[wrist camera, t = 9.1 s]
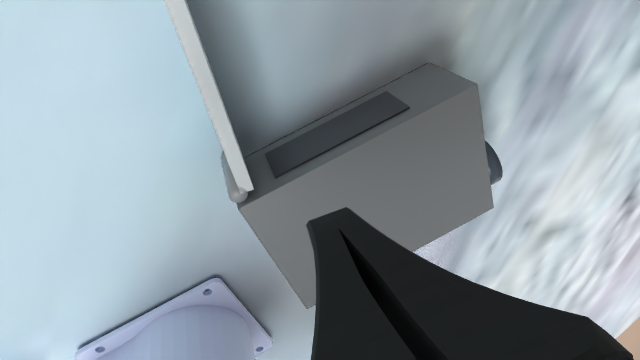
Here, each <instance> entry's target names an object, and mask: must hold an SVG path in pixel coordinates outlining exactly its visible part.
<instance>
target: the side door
mask: <svg viewBox="0 0 640 360" xmlns="http://www.w3.org/2000/svg"><path fill="white" fill-rule="evenodd" d="M164 2H165V5H166V7H167V10H168V12H169V15H170V17H171V20H172V22H173V25H174V27H175V30H176V32H177V35H178V37H179V40H180V42H181V45H182V48H183V50H184V53H185V55H186V58H187V60H188V63H189V65H190V68H191V70H192V73H193V75H194V78H195V80H196V83H197V85H198V88H199V90H200V93H201V95H202V98H203V100H204V103H205V106H206V108H207V111H208V113H209V116H210V118H211V121H212V123H213V126H214V128H215V131H216V133H217V136H218V138H219V141H220V143H221V146H222V148H223V151H224V153H223V154H222V156H221V162H222V167H223V171H224V176H225V181H226V185H227V190H228V194H229V198H230V200H231V201H233V202H235V203H239V202H242V201H244V200H245V199H246V198H247V196H248V191H251V190H254V188H253V185H252V182H251V179H250V176H249V173H248V170H247V167H246V164H245V160H244V157H243V154H242V152H241V149H240V146H239V143H238V141H237V138H236V135H235V132H234V130H233V127H232V124H231V121H230V119H229V116H228V113H227V111H226V108H225V105H224V102H223V100H222V97H221V94H220V91H219V89H218V86H217V83H216V81H215V78H214V75H213V72H212V70H211V67H210V64H209V61H208V59H207V56H206V53H205V50H204V48H203V45H202V42H201V40H200V37H199V34H198V31H197V29H196V26H195V23H194V20H193V18H192V15H191V12H190V9H189V7H188V4H187V1H186V0H164Z"/></svg>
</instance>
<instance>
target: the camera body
mask: <svg viewBox="0 0 640 360" xmlns="http://www.w3.org/2000/svg"><path fill="white" fill-rule="evenodd" d="M244 160H245V164H246V167H247V170H248V173H249V176H250V179H251V182H252V185H253V188H254V190H251V191H248V196H247V198H246V199H245V200H244V201H242V202H239V203H237V206H238V210H239V211H240V212H241V214H242V215H243V217H244V218H245V220H246V221H247V223H248V224H249V226H250V227H251V228H252V230H253V231H254V233H255V234H256V236H257V237H258V239H259V240H260V242H261V243H262V244H263V246H264V247H265V249H266V250H267V252H268V253H269V255H270V256H271V258H272V259H273V260H274V262H275V263H276V265H277V266H278V268H279V269H280V271H281V272H282V274H283V275H284V277H285V278H286V279H287V281H288V282H289V284H290V285H291V287H292V288H293V290H294V291H295V293H296V294H297V295H298V297H299V298H300V300H301V301H302V303H303V304H304V306H305V307H306V309H309V308H310V307H312V306H314V305H316V271H315V260H314V251H313V247H312V244H311V241H310V237H309V234H308V230H307V227H306V224H307V223H308V221H309V220H312V219H315V218H318V217H320V216H323V215H326V214H328V213H331V212H334V211H337V210H339V209H342V208H345V207H347V208H349V209H351V210H352V211H353V212H355V213H356V214H357V215H358V216H360V217H361V218H362V219H364V220H365V221H366V222H367V223H369V224H370V225H372V226H373V227H374V228H376V229H377V230H379V231H380V232H381V233H383V234H384V235H386V236H387V237H389V238H390V239H392V240H394V241H395V242H397V243H398V244H400V245H401V246H403V247H405V248H406V249H408V250H409V251H411V252H413V251H415V250H417V249H419V248H421V247H422V246H424V245H426V244H428V243H430V242H432V241H434V240H435V239H437V238H439V237H441V236H443V235H445V234H446V233H448V232H450V231H452V230H454V229H456V228H457V227H459V226H461V225H463V224H465V223H467V222H468V221H470V220H472V219H474V218H476V217H478V216H479V215H481V214H483V213H485V212H487V211H489V210H490V209H492V208H494V206H493V199H492V191H491V185H492V184H494V183H496V182H498V181H499V180H501V178H502V166H501V163H500V161H499V158H498V156H497V154H496V153H495V151H494V150H493V148H492V147H491V146H490V145H489V144H488V143H487V142H486V141H485V139H484V131H483V124H482V117H481V109H480V102H479V94H478V87H477V84H476V83H474V82H471V81H469V80H467V79H465V78H463V77H460V76H458V75H456V74H454V73H452V72H449V71H447V70H445V69H443V68H440V67H438V66H436V65H434V64H432V63H427V64H425V65H423V66H422V67H420V68H418V69H416V70H414V71H412V72H410V73H408V74H406V75H404V76H402V77H400V78H398V79H396V80H394V81H392V82H391V83H389V84H387V85H385V86H383V87H381V88H379V89H377V90H375V91H373V92H371V93H369V94H367V95H365V96H363V97H361V98H360V99H358V100H356V101H354V102H352V103H350V104H348V105H346V106H344V107H342V108H340V109H338V110H336V111H334V112H332V113H330V114H329V115H327V116H325V117H323V118H321V119H319V120H317V121H315V122H313V123H311V124H309V125H307V126H305V127H303V128H301V129H299V130H298V131H296V132H294V133H292V134H290V135H288V136H286V137H284V138H282V139H280V140H278V141H276V142H274V143H272V144H270V145H268V146H267V147H265V148H263V149H261V150H259V151H257V152H255V153H253V154H251V155H249V156H247V157H245V158H244Z"/></svg>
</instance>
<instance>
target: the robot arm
mask: <svg viewBox="0 0 640 360" xmlns="http://www.w3.org/2000/svg"><path fill="white" fill-rule="evenodd" d="M306 227H307V230H308V234H309V237H310V241H311V244H312V247H313V251H314V260H315V271H316V313H315V328H314V338H313V347H312V355H311V360H634V359H633V355H632V354H631V353H630V352H629V351H627V350H626V349H625V348H624V347H623V346H622V345H621V344H620V343H619V342H617V341H616V340H615V339H614V338H613V337H612V336H611V335H610V334H609V333H608V332H606V331H605V330H604V329H602V328H601V327H600V326H599V325H597V324H596V323H595V322H593V321H592V320H591V319H590V318H588V317H585V316H581V315H577V314H573V313H570V312H566V311H562V310H558V309H554V308H550V307H546V306H542V305H538V304H535V303H532V302H528V301H525V300H522V299H519V298H515V297H512V296H509V295H506V294H503V293H501V292H498V291H495V290H493V289H490V288H487V287H485V286H482V285H479V284H477V283H474V282H472V281H469V280H467V279H465V278H462V277H460V276H458V275H455V274H453V273H451V272H449V271H447V270H445V269H443V268H441V267H439V266H437V265H435V264H433V263H431V262H429V261H427V260H425V259H423V258H422V257H420V256H418V255H416V254H415V253H413V252H411V251H409V250H408V249H406V248H405V247H403V246H401V245H400V244H398V243H397V242H395V241H394V240H392V239H390V238H389V237H387V236H386V235H384V234H383V233H381V232H380V231H379V230H377V229H376V228H374V227H373V226H372V225H370V224H369V223H367V222H366V221H365V220H364V219H362V218H361V217H360V216H358V215H357V214H356V213H355V212H353V211H352V210H351V209H349V208H347V207H345V208H342V209H339V210H337V211H334V212H331V213H328V214H326V215H323V216H320V217H318V218H315V219H312V220H309V221H308V223H307V224H306ZM206 289H210V290H208V291H204V290H206ZM272 344H273V342H272V339H271V337H270V336H269V335H268V334H267V333H266V331H265V330H264V329H263V328H262V327H261V326H260V324H259V323H258V322H257V321H256V320H255V319H254V317H253V316H252V315H251V314H250V313H249V311H248V310H247V309H246V308H245V307H244V306H243V304H242V303H241V302H240V301H239V300H238V299H237V297H236V296H235V295H234V294H233V293H232V292H231V290H230V289H229V288H228V287H227V286H226V285H225V283H224V282H223V281H222V280H221V279H219V278H213V279H210V280H208V281H206V282H204V283H202V284H201V285H199V286H197V287H195V288H193V289H191V290H189V291H187V292H186V293H184V294H182V295H180V296H178V297H176V298H174V299H172V300H170V301H169V302H167V303H165V304H163V305H161V306H159V307H157V308H155V309H154V310H152V311H150V312H148V313H146V314H144V315H142V316H140V317H138V318H137V319H135V320H133V321H131V322H129V323H127V324H125V325H123V326H122V327H120V328H118V329H116V330H114V331H112V332H110V333H108V334H107V335H105V336H103V337H101V338H99V339H97V340H95V341H93V342H91V343H90V344H88V345H86V346H84V347H82V348H80V349H79V350H77V352H76V354H75V360H255V356H256V355H258V354H260V353H262V352H264V351H266V350H267V349H269V348H270V347H271V346H272Z"/></svg>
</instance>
